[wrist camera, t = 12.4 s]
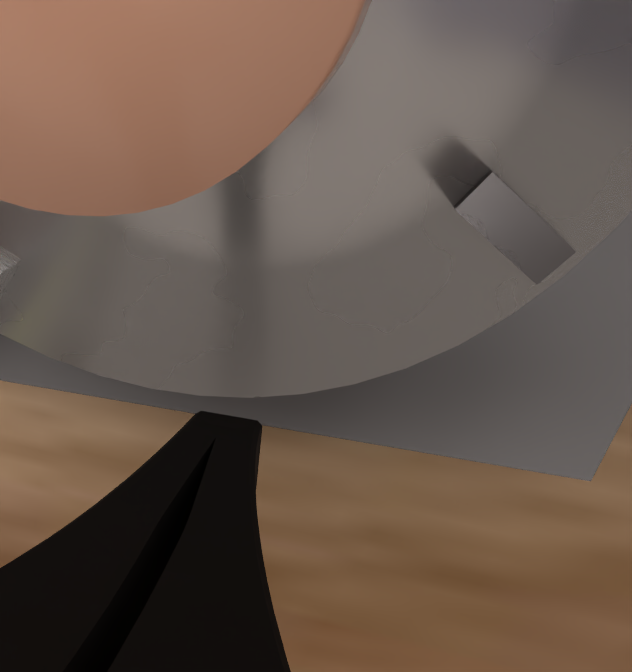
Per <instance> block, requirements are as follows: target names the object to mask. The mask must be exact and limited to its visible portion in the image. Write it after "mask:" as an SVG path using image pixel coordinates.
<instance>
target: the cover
mask: <svg viewBox="0 0 632 672" xmlns="http://www.w3.org/2000/svg"><path fill="white" fill-rule="evenodd" d="M371 2H372V0H0V200H1V201H5V202H8V203H11V204H15V205H18V206H22V207H25V208H28V209H33V210H39V211H45V212H51V213H57V214H63V215H77V216H111V215H121V214H131V213H139V212H143V211H147V210H151V209H155V208H159V207H163V206H167V205H171V204H174V203H176V202H178V201H181V200H183V199H186V198H188V197H190V196H193V195H195V194H198V193H200V192H202V191H205V190H207V189H208V188H210V187H212V186H213V185H215V184H217V183H218V182H220V181H222V180H223V179H225V178H226V177H228V176H230V175H231V174H233V173H235V172H236V171H238V170H239V169H240V168H242V167H243V166H244V165H245V164H246V163H248V162H249V161H250V160H251V159H252V158H254V157H255V156H256V155H257V154H259V153H260V152H261V151H262V150H263V149H265V148H266V147H267V146H268V145H269V144H270V143H271V142H272V141H273V140H275V139H276V138H277V137H278V136H279V135H280V134H281V133H282V132H283V131H284V130H285V129H286V128H287V127H288V126H289V125H290V124H291V123H292V122H293V121H294V120H296V119H297V118H298V117H299V116H300V115H301V114H302V113H303V112H304V111H305V110H306V109H307V108H308V107H309V105H310V104H311V103H312V102H313V101H314V100H315V99H316V98H317V97H318V96H319V95H320V94H321V92H322V91H323V90H324V89H325V88H326V86H327V85H328V83H329V82H330V81H331V79H332V78H333V76H334V75H335V74H336V72H337V71H338V69H339V68H340V66H341V65H342V64H343V62H344V60H345V58H346V56H347V54H348V53H349V51H350V49H351V47H352V45H353V43H354V41H355V40H356V38H357V36H358V34H359V32H360V29H361V27H362V24H363V22H364V19H365V17H366V14H367V12H368V9H369V7H370V4H371Z"/></svg>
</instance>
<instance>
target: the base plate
mask: <svg viewBox="0 0 632 672" xmlns="http://www.w3.org/2000/svg"><path fill="white" fill-rule="evenodd" d="M0 380H2V381H7V382H13V383H19V384H25V385H31V386H37V387H42V388H48V389H54V390H60V391H66V392H72V393H78V394H83V395H89V396H95V397H101V398H107V399H113V400H119V401H124V402H130V403H136V404H142V405H148V406H154V407H159V408H165V409H171V410H177V411H183V412H189V413H195V414H196V413H198V412H199V411H206V412H212V413H218V414H224V415H229V416H235V417H241V418H246V419H252V420H258V422H259V423H260V424H261V425H265V426H271V427H276V428H282V429H288V430H294V431H300V432H306V433H312V434H317V435H323V436H329V437H335V438H341V439H347V440H353V441H358V442H364V443H370V444H376V445H382V446H388V447H393V448H399V449H405V450H411V451H417V452H423V453H429V454H434V455H440V456H446V457H452V458H458V459H464V460H470V461H475V462H481V463H487V464H493V465H499V466H505V467H510V468H516V469H522V470H528V471H534V472H540V473H546V474H551V475H557V476H563V477H569V478H575V479H581V480H587V481H591V480H592V478H593V476H594V474H595V472H596V470H597V468H598V466H599V465H600V463H601V461H602V459H603V457H604V455H605V453H606V451H607V449H608V447H609V446H610V444H611V442H612V440H613V438H614V436H615V434H616V432H617V430H618V428H619V427H620V425H621V423H622V421H623V419H624V417H625V415H626V413H627V411H628V409H629V408H630V406H631V404H632V210H631V212H630V213H629V214H628V215H627V216H626V217H625V218H624V220H623V221H622V222H621V223H620V224H619V225H618V226H617V227H616V228H615V229H614V230H613V231H612V232H611V233H610V234H609V235H608V236H607V237H605V238H604V239H603V240H602V241H601V242H600V243H599V244H598V245H597V246H596V247H595V248H594V249H592V250H591V251H590V252H589V253H588V254H587V255H586V256H585V257H584V258H583V259H582V260H581V261H579V262H578V263H577V264H576V265H575V266H574V267H573V268H572V269H571V270H570V271H569V272H568V273H566V274H565V275H564V276H563V277H562V278H560V279H559V280H557V281H556V282H555V283H553V284H552V285H551V286H549V287H548V288H547V289H545V290H544V291H543V292H541V293H540V294H539V295H537V296H536V297H534V298H533V299H532V300H530V301H529V302H528V303H526V304H525V305H524V306H522V307H521V308H520V309H518V310H517V311H516V312H514V313H513V314H512V315H510V316H508V317H506V318H505V319H503V320H501V321H500V322H498V323H496V324H494V325H493V326H491V327H489V328H487V329H486V330H484V331H482V332H481V333H479V334H477V335H475V336H474V337H472V338H470V339H469V340H467V341H465V342H463V343H462V344H460V345H458V346H456V347H454V348H451V349H449V350H447V351H444V352H442V353H440V354H438V355H435V356H433V357H431V358H428V359H426V360H424V361H422V362H419V363H417V364H415V365H412V366H410V367H408V368H406V369H402V370H399V371H396V372H393V373H389V374H386V375H383V376H380V377H376V378H373V379H370V380H367V381H363V382H360V383H357V384H354V385H348V386H343V387H337V388H332V389H327V390H321V391H316V392H311V393H305V394H297V395H283V396H269V397H255V398H244V397H218V396H198V395H191V394H185V393H178V392H171V391H164V390H157V389H151V388H146V387H142V386H139V385H135V384H131V383H127V382H123V381H119V380H115V379H111V378H107V377H103V376H99V375H97V374H94V373H91V372H88V371H86V370H83V369H80V368H77V367H75V366H72V365H69V364H66V363H64V362H61V361H58V360H55V359H53V358H50V357H48V356H46V355H44V354H41V353H39V352H37V351H35V350H33V349H31V348H29V347H27V346H25V345H23V344H20V343H18V342H16V341H14V340H12V339H10V338H8V337H6V336H4V335H1V334H0Z"/></svg>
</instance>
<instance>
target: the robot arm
mask: <svg viewBox="0 0 632 672" xmlns="http://www.w3.org/2000/svg"><path fill="white" fill-rule="evenodd" d="M261 433H262V425H261V424H260V423H259V422H258V420H252V419H246V418H241V417H235V416H229V415H224V414H218V413H212V412H206V411H199V412H198V413H196V414H195V415H194V416H193V417H192V418H191V419H190V420H189V421H188V422H187V423H186V424H185V425H184V426H183V427H182V428H181V429H180V430H179V431H178V432H177V433H176V434H175V435H174V436H173V437H172V438H171V439H170V440H169V441H168V442H167V443H166V444H165V445H164V446H163V447H162V448H161V449H160V450H159V451H158V452H157V453H155V454H154V455H153V456H152V457H151V458H150V459H149V460H148V461H147V462H145V463H144V464H143V465H142V466H141V467H140V468H139V469H138V470H136V471H135V472H134V473H133V474H132V475H131V476H130V477H128V478H127V479H126V480H125V481H124V482H122V483H121V484H120V485H119V486H117V487H116V488H115V489H114V490H113V491H111V492H110V493H109V494H108V495H106V496H105V497H104V498H103V499H101V500H100V501H99V502H98V503H96V504H95V505H94V506H92V507H91V508H90V509H88V510H87V511H86V512H84V513H83V514H82V515H80V516H79V517H78V518H76V519H75V520H74V521H72V522H71V523H69V524H68V525H66V526H65V527H64V528H62V529H61V530H59V531H58V532H56V533H55V534H53V535H52V536H51V537H49V538H48V539H46V540H45V541H43V542H41V543H40V544H38V545H37V546H35V547H33V548H32V549H30V550H29V551H27V552H26V553H24V554H22V555H21V556H19V557H18V558H16V559H14V560H13V561H11V562H10V563H8V564H6V565H5V566H3V567H1V568H0V672H291V671H290V668H289V665H288V662H287V658H286V654H285V651H284V647H283V643H282V640H281V636H280V632H279V628H278V625H277V621H276V617H275V614H274V610H273V605H272V601H271V596H270V592H269V587H268V583H267V577H266V572H265V567H264V561H263V555H262V549H261V542H260V535H259V527H258V518H257V507H256V485H257V474H258V464H259V454H260V444H261Z"/></svg>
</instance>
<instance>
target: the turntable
mask: <svg viewBox="0 0 632 672" xmlns="http://www.w3.org/2000/svg"><path fill="white" fill-rule="evenodd" d="M631 210H632V0H372V2H371V4H370V7H369V9H368V12H367V14H366V17H365V19H364V22H363V24H362V27H361V29H360V32H359V34H358V36H357V38H356V40H355V41H354V43H353V45H352V47H351V49H350V51H349V53H348V54H347V56H346V58H345V60H344V62H343V64H342V65H341V66H340V68H339V69H338V71H337V72H336V74H335V75H334V76H333V78H332V79H331V81H330V82H329V83H328V85H327V86H326V88H325V89H324V90H323V91H322V92H321V94H320V95H319V96H318V97H317V98H316V99H315V100H314V101H313V102H312V103H311V104H310V105H309V107H308V108H307V109H306V110H305V111H304V112H303V113H302V114H301V115H300V116H299V117H298V118H297V119H296V120H294V121H293V122H292V123H291V124H290V125H289V126H288V127H287V128H286V129H285V130H284V131H283V132H282V133H281V134H280V135H279V136H278V137H277V138H276V139H275V140H273V141H272V142H271V143H270V144H269V145H268V146H267V147H266V148H265V149H263V150H262V151H261V152H260V153H259V154H257V155H256V156H255V157H254V158H252V159H251V160H250V161H249V162H248V163H246V164H245V165H244V166H243V167H242V168H240V169H239V170H238V171H236V172H235V173H233V174H231V175H230V176H228V177H226V178H225V179H223V180H222V181H220V182H218V183H217V184H215V185H213V186H212V187H210V188H208V189H207V190H205V191H202V192H200V193H198V194H195V195H193V196H190V197H188V198H186V199H183V200H181V201H178V202H176V203H174V204H171V205H167V206H163V207H159V208H155V209H151V210H147V211H143V212H139V213H131V214H121V215H111V216H77V215H63V214H57V213H51V212H45V211H39V210H33V209H28V208H25V207H22V206H18V205H15V204H11V203H8V202H5V201H1V200H0V334H1V335H4V336H6V337H8V338H10V339H12V340H14V341H16V342H18V343H20V344H23V345H25V346H27V347H29V348H31V349H33V350H35V351H37V352H39V353H41V354H44V355H46V356H48V357H50V358H53V359H55V360H58V361H61V362H64V363H66V364H69V365H72V366H75V367H77V368H80V369H83V370H86V371H88V372H91V373H94V374H97V375H99V376H103V377H107V378H111V379H115V380H119V381H123V382H127V383H131V384H135V385H139V386H142V387H146V388H151V389H157V390H164V391H171V392H178V393H185V394H191V395H198V396H218V397H244V398H255V397H269V396H283V395H297V394H305V393H311V392H316V391H321V390H327V389H332V388H337V387H343V386H348V385H354V384H357V383H360V382H363V381H367V380H370V379H373V378H376V377H380V376H383V375H386V374H389V373H393V372H396V371H399V370H402V369H406V368H408V367H410V366H412V365H415V364H417V363H419V362H422V361H424V360H426V359H428V358H431V357H433V356H435V355H438V354H440V353H442V352H444V351H447V350H449V349H451V348H454V347H456V346H458V345H460V344H462V343H463V342H465V341H467V340H469V339H470V338H472V337H474V336H475V335H477V334H479V333H481V332H482V331H484V330H486V329H487V328H489V327H491V326H493V325H494V324H496V323H498V322H500V321H501V320H503V319H505V318H506V317H508V316H510V315H512V314H513V313H514V312H516V311H517V310H518V309H520V308H521V307H522V306H524V305H525V304H526V303H528V302H529V301H530V300H532V299H533V298H534V297H536V296H537V295H539V294H540V293H541V292H543V291H544V290H545V289H547V288H548V287H549V286H551V285H552V284H553V283H555V282H556V281H557V280H559V279H560V278H562V277H563V276H564V275H565V274H566V273H568V272H569V271H570V270H571V269H572V268H573V267H574V266H575V265H576V264H577V263H578V262H579V261H581V260H582V259H583V258H584V257H585V256H586V255H587V254H588V253H589V252H590V251H591V250H592V249H594V248H595V247H596V246H597V245H598V244H599V243H600V242H601V241H602V240H603V239H604V238H605V237H607V236H608V235H609V234H610V233H611V232H612V231H613V230H614V229H615V228H616V227H617V226H618V225H619V224H620V223H621V222H622V221H623V220H624V218H625V217H626V216H627V215H628V214H629V213H630V212H631Z"/></svg>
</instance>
